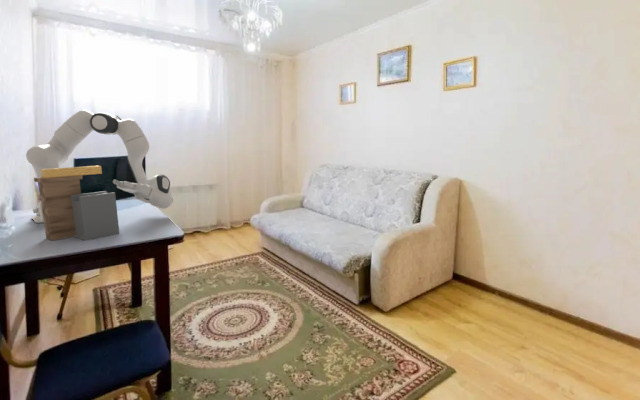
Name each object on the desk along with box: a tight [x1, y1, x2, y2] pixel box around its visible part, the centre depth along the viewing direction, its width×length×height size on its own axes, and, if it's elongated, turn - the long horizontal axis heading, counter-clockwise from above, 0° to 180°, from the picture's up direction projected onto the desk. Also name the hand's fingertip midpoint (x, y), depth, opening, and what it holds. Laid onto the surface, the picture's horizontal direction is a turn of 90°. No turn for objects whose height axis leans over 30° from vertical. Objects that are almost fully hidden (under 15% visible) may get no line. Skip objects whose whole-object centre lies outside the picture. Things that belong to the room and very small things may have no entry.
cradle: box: [71, 190, 120, 241], centre depth 152 cm, size 8×14×18 cm, turn 148°
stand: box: [33, 175, 84, 241], centre depth 151 cm, size 7×15×26 cm, turn 147°
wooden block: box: [40, 165, 103, 178], centre depth 153 cm, size 22×4×4 cm, turn 147°
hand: (118, 181), depth 170 cm, fingers open, 8 cm apart
